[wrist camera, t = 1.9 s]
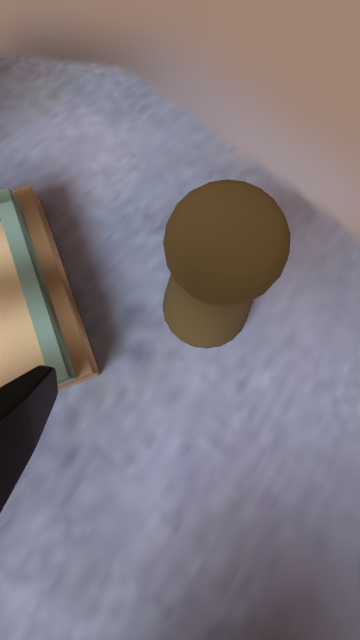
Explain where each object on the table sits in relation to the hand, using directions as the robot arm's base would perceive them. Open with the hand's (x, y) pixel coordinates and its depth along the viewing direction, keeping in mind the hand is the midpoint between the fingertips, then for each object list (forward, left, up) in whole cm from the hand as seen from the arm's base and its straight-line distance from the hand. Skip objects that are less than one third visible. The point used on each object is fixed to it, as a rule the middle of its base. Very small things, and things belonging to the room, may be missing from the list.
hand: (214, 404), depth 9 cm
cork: (+6, +2, -13) cm, 14 cm away
